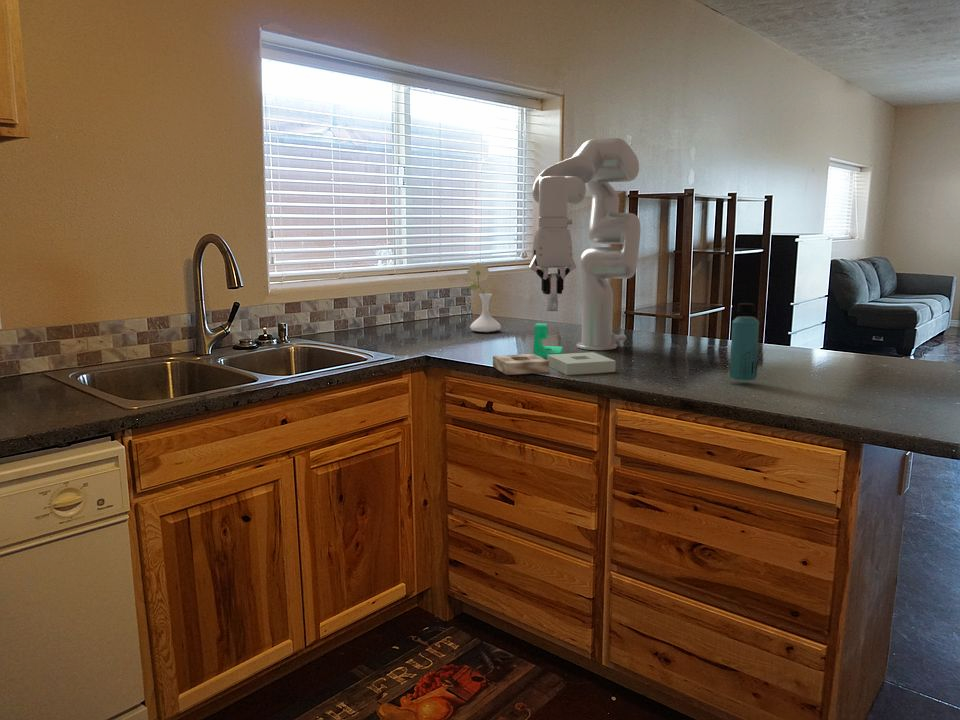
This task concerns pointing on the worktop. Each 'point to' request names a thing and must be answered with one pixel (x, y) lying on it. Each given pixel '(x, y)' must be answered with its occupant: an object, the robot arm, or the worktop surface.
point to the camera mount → (538, 348)
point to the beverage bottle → (744, 344)
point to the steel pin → (552, 292)
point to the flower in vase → (485, 320)
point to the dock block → (581, 363)
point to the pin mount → (520, 364)
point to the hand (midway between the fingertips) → (552, 293)
